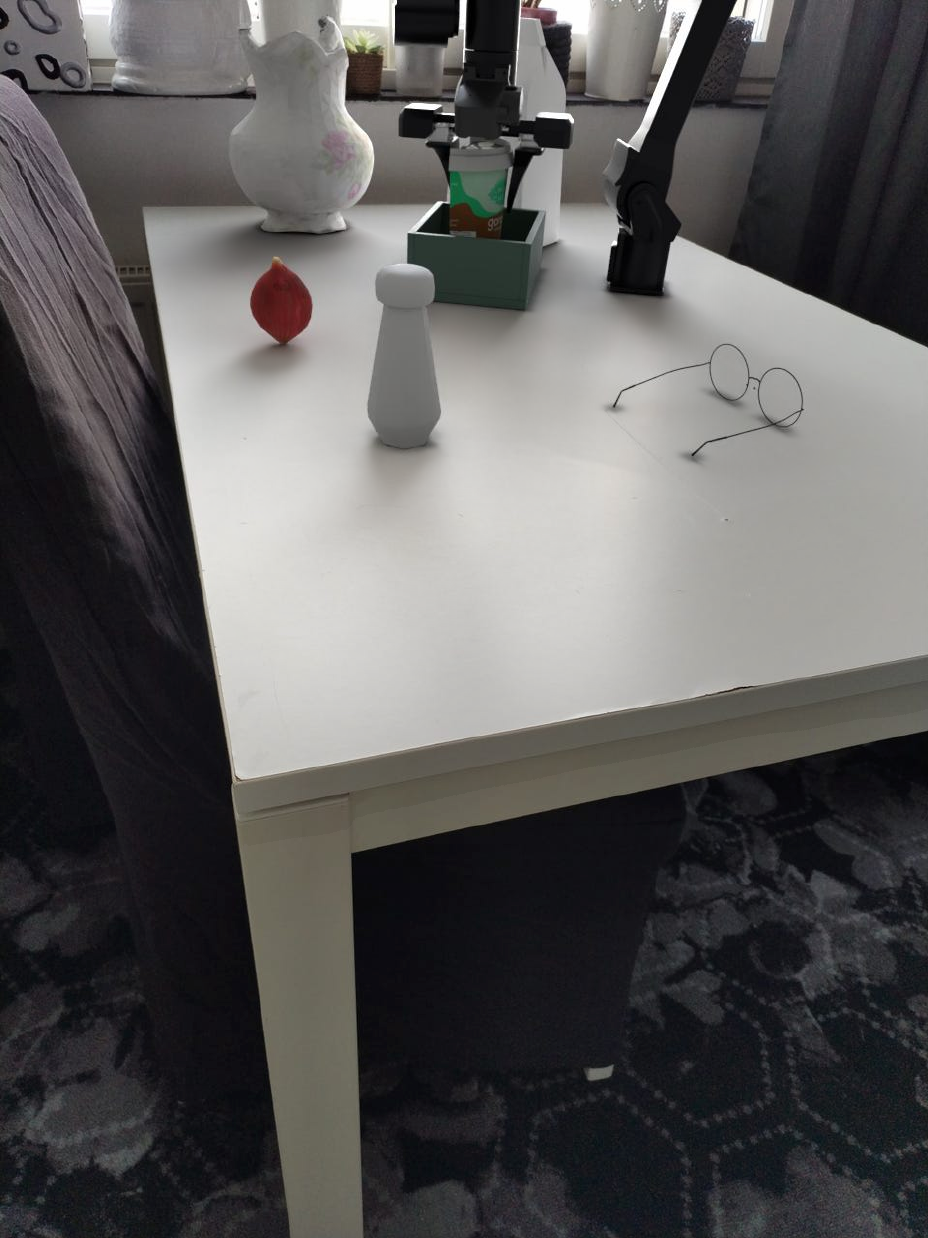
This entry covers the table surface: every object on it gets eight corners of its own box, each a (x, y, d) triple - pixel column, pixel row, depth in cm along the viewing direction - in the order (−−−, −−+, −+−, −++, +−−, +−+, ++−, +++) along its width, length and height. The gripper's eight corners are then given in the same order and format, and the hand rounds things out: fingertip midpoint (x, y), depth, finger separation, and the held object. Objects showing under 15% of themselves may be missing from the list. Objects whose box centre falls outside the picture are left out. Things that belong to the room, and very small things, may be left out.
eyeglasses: (699, 462, 69) (713, 401, 66) (604, 403, 78) (613, 347, 75) (802, 439, 74) (820, 381, 71) (702, 386, 83) (714, 332, 80)
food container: (500, 253, 98) (506, 153, 92) (446, 248, 99) (449, 149, 93) (517, 229, 108) (523, 136, 102) (467, 225, 109) (471, 133, 103)
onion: (324, 338, 88) (320, 254, 83) (297, 357, 84) (291, 269, 79) (272, 329, 89) (265, 246, 85) (242, 347, 85) (234, 260, 80)
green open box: (540, 269, 113) (546, 210, 109) (525, 310, 99) (531, 244, 95) (436, 259, 114) (437, 200, 110) (406, 298, 100) (407, 232, 96)
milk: (558, 240, 126) (580, 20, 110) (518, 256, 118) (536, 20, 102) (486, 226, 131) (498, 13, 115) (443, 240, 123) (450, 13, 107)
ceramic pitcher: (272, 210, 137) (244, 16, 123) (395, 209, 135) (381, 11, 120) (223, 244, 120) (183, 23, 105) (362, 244, 118) (341, 18, 103)
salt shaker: (367, 421, 73) (364, 255, 65) (437, 422, 73) (442, 257, 65) (367, 452, 68) (364, 277, 60) (442, 453, 68) (448, 279, 61)
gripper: (385, 49, 87) (387, 219, 96) (574, 61, 85) (557, 233, 94) (409, 43, 96) (409, 199, 105) (581, 53, 94) (565, 211, 103)
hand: (482, 210), depth 102 cm, fingers closed on food container, 6 cm apart
